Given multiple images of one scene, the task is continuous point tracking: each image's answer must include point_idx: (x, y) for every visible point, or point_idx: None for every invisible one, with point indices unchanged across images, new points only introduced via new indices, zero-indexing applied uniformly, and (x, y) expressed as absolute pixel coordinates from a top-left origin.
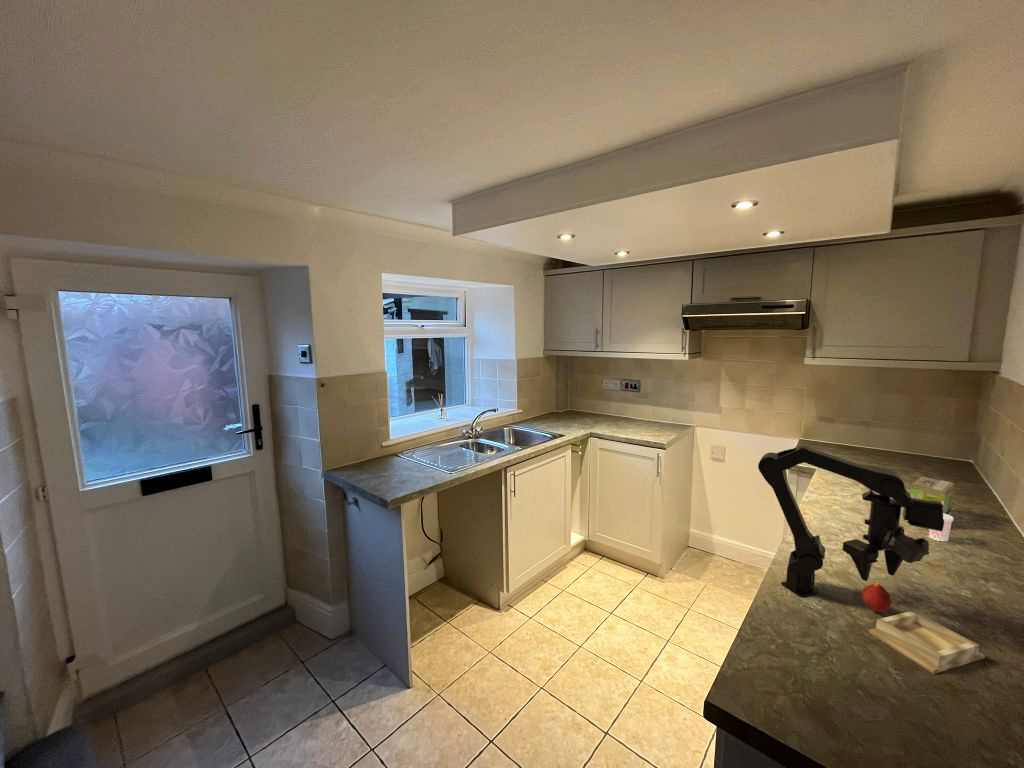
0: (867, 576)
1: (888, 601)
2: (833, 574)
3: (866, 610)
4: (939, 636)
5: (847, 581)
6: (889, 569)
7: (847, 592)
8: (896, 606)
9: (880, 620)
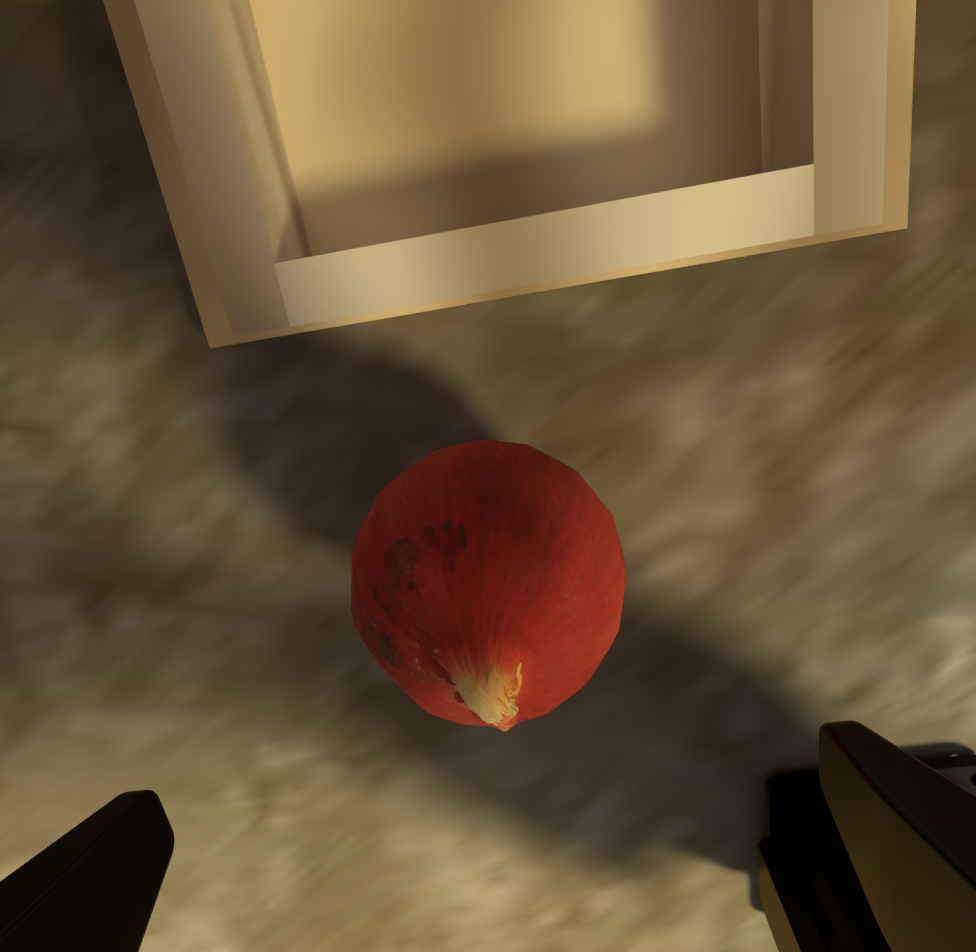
0: (939, 793)
1: (463, 467)
2: (395, 939)
3: None
4: (246, 10)
5: (361, 860)
6: (121, 918)
7: (494, 751)
8: (232, 544)
9: (854, 200)
